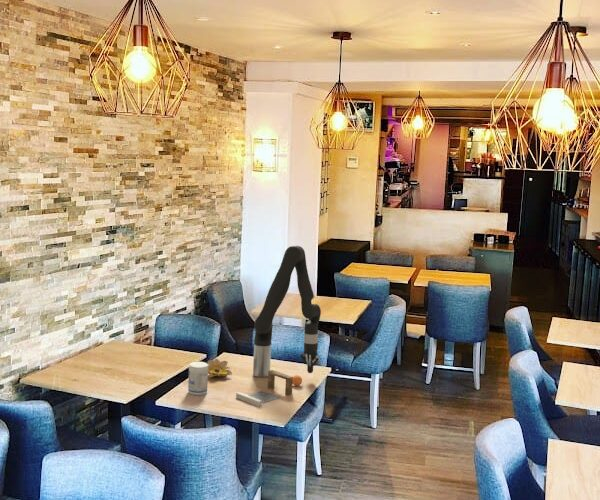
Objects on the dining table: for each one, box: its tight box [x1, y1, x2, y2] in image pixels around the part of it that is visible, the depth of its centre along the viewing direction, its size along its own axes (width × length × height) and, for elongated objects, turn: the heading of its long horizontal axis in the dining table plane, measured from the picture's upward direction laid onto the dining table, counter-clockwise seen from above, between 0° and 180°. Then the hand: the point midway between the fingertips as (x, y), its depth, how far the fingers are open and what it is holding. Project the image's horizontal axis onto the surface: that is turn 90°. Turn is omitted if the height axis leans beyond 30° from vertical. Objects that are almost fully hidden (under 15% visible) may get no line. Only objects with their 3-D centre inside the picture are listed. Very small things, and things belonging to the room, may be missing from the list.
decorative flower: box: [207, 358, 233, 379], centre depth 372 cm, size 15×11×10 cm
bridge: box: [267, 369, 294, 397], centre depth 354 cm, size 3×14×9 cm, turn 48°
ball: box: [292, 374, 303, 387], centre depth 364 cm, size 6×6×6 cm
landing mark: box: [248, 390, 281, 405], centre depth 345 cm, size 13×13×1 cm
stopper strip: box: [235, 391, 263, 407], centre depth 339 cm, size 2×16×2 cm, turn 48°
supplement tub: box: [187, 361, 209, 396], centre depth 347 cm, size 10×10×15 cm
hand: (310, 372), depth 372 cm, fingers closed
